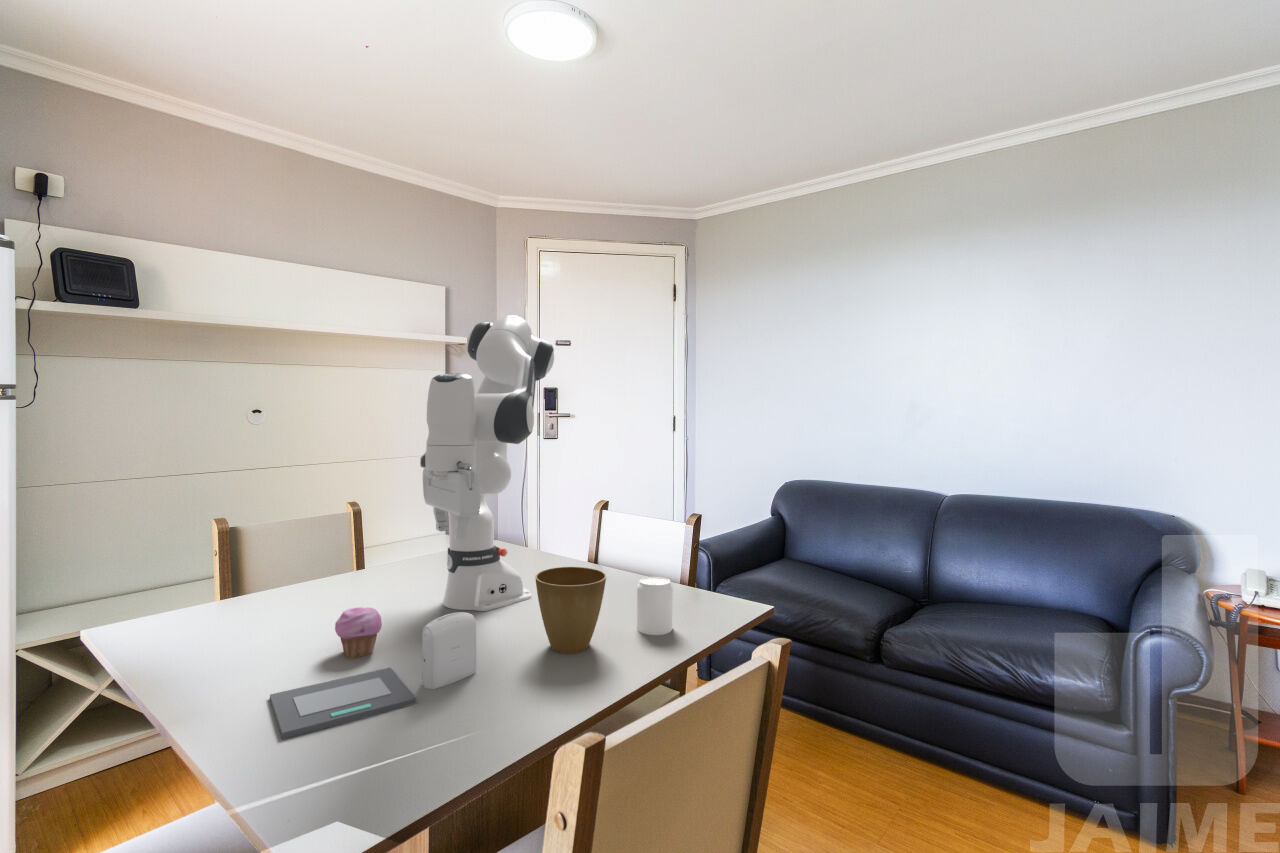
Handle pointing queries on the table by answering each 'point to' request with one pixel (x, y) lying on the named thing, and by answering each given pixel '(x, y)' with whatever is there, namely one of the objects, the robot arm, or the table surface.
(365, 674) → the charging mat
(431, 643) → the photo printer
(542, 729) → the table surface
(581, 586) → the plant pot
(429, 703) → the table surface
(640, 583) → the beverage can
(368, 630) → the cupcake
